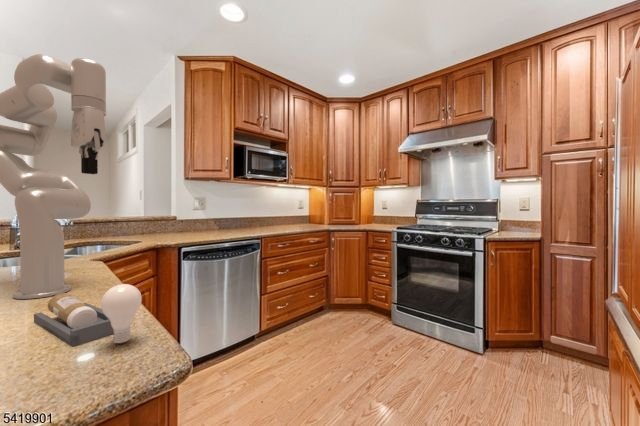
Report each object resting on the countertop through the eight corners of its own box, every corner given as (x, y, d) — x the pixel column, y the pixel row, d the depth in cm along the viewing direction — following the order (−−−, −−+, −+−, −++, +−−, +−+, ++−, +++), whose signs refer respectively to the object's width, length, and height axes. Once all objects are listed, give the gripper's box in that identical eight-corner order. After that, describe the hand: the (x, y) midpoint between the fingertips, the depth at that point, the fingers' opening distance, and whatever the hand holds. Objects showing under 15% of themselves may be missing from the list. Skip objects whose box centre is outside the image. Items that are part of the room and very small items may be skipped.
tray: (33, 321, 65) (33, 309, 65) (85, 309, 73) (85, 298, 73) (72, 346, 53) (72, 331, 53) (128, 328, 61) (128, 315, 61)
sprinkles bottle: (43, 312, 63) (66, 332, 56) (51, 291, 64) (75, 308, 57) (68, 312, 67) (93, 331, 60) (76, 292, 68) (101, 308, 61)
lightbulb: (121, 352, 51) (121, 289, 51) (91, 349, 52) (91, 288, 52) (149, 337, 57) (149, 281, 57) (122, 334, 58) (122, 279, 58)
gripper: (61, 108, 81) (62, 174, 82) (83, 97, 73) (84, 170, 74) (93, 115, 88) (94, 176, 88) (117, 106, 80) (117, 173, 80)
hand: (89, 173), depth 81 cm, fingers closed
